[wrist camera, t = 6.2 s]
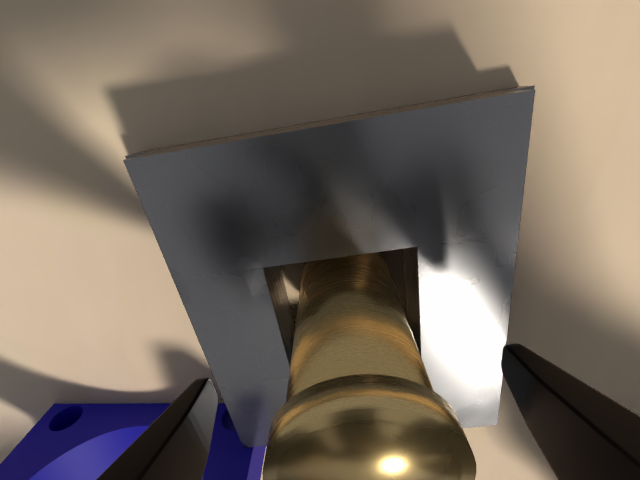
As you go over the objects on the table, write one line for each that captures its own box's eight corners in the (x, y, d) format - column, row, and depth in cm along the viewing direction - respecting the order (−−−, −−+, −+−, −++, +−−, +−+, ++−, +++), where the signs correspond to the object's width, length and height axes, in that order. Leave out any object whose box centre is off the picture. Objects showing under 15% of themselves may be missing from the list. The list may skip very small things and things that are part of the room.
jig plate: (492, 377, 16) (519, 422, 14) (237, 403, 17) (223, 449, 15) (520, 86, 11) (573, 82, 8) (137, 152, 12) (92, 165, 9)
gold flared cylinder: (399, 316, 15) (471, 528, 7) (304, 327, 15) (286, 539, 8) (393, 228, 13) (483, 397, 6) (285, 243, 13) (237, 421, 6)
